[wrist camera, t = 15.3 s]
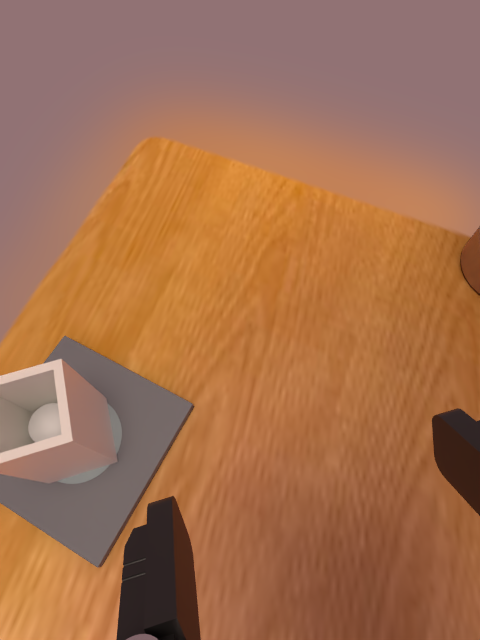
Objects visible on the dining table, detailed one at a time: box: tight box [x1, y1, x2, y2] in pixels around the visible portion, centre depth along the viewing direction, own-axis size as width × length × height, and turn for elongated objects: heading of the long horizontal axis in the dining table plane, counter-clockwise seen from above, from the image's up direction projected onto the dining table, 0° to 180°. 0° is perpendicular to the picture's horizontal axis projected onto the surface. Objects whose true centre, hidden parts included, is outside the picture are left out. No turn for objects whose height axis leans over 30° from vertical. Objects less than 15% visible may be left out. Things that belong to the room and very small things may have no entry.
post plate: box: [0, 336, 194, 567], centre depth 34 cm, size 14×14×7 cm
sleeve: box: [0, 359, 118, 483], centre depth 32 cm, size 6×6×10 cm
